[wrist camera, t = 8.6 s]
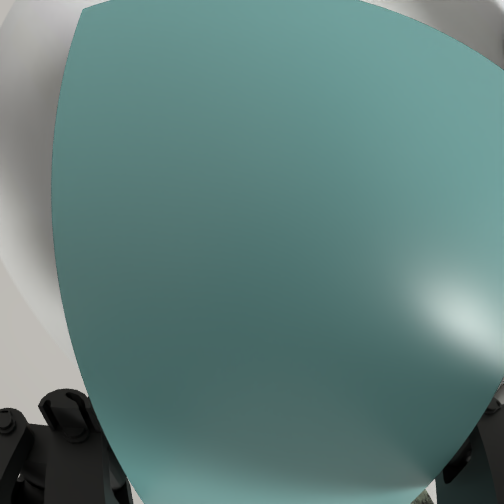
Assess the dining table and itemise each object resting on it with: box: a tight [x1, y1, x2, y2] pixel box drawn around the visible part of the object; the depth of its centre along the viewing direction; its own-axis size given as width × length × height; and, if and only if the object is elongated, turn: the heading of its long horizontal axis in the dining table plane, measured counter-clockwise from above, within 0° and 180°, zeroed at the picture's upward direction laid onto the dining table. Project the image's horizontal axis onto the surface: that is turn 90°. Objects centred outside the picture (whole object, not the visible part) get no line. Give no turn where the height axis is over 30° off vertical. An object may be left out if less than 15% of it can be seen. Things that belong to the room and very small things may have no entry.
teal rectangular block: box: [51, 0, 504, 504], centre depth 8 cm, size 16×7×8 cm, turn 178°
